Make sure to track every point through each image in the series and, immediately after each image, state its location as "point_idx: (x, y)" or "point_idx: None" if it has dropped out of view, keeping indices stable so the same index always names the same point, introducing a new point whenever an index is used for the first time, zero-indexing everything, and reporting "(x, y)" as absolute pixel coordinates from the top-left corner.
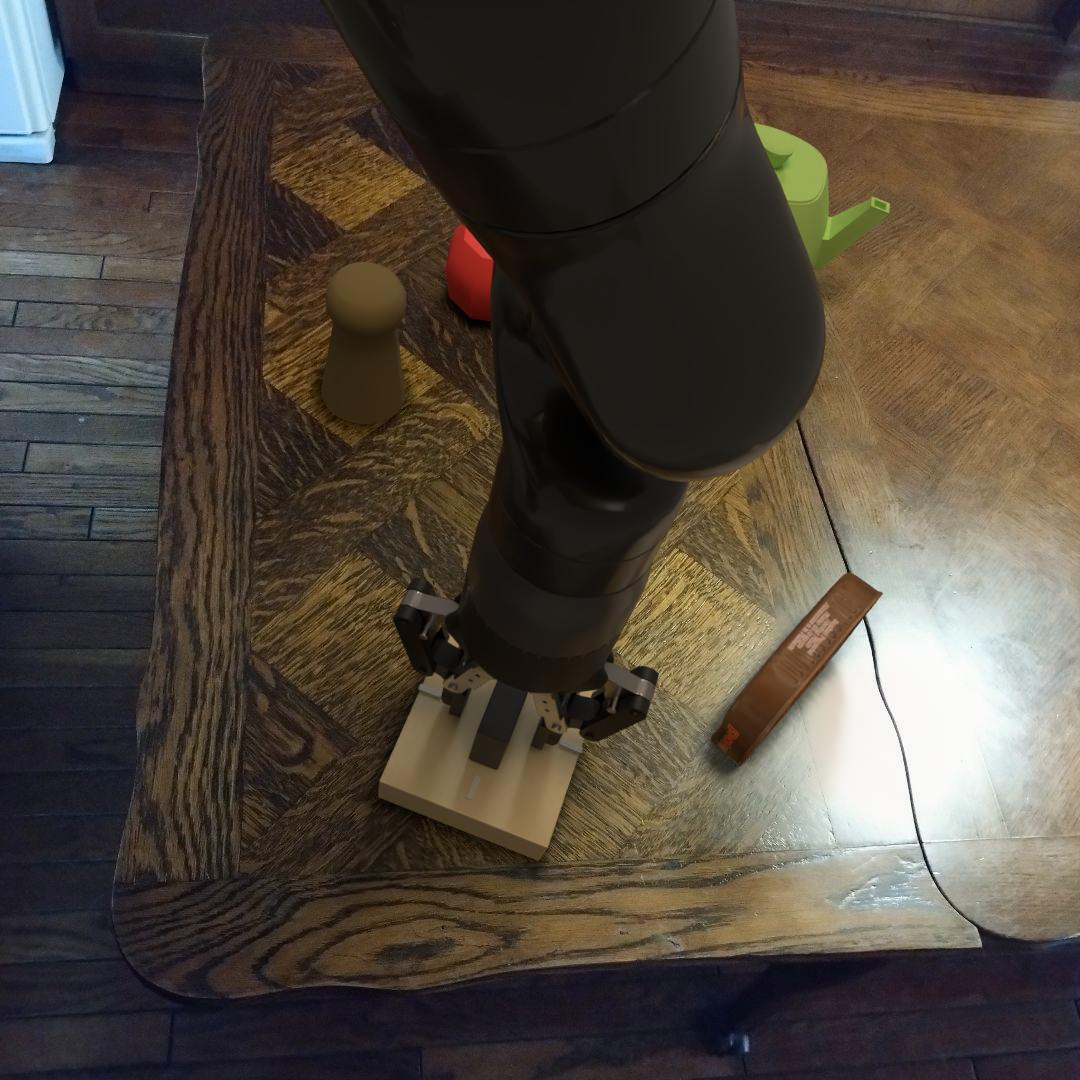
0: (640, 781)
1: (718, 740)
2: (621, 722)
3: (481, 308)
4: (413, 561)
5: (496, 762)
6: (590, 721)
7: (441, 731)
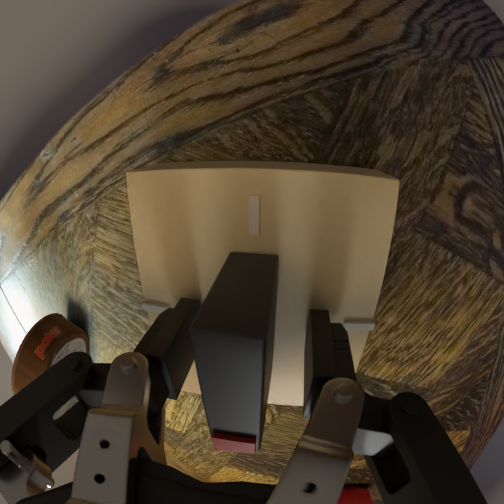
0: (111, 279)
1: (56, 338)
2: (4, 416)
3: (350, 498)
4: (382, 398)
5: (228, 266)
6: (67, 397)
7: (331, 281)
